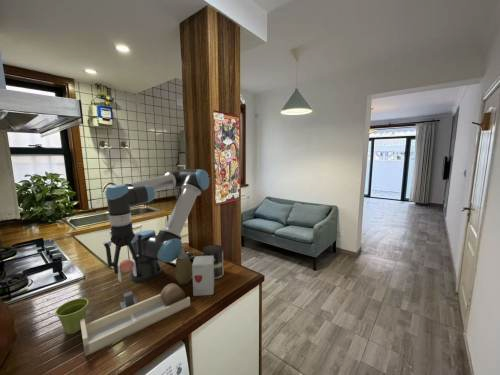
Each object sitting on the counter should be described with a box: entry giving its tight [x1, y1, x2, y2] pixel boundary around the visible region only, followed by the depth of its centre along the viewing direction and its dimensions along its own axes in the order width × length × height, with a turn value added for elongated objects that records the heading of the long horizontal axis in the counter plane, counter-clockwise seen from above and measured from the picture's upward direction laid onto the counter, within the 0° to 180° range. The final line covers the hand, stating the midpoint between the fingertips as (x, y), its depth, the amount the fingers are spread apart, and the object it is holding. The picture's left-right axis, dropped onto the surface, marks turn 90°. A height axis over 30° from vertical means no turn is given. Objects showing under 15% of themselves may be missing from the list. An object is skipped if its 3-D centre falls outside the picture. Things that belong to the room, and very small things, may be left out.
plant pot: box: [54, 297, 90, 335], centre depth 81 cm, size 9×9×9 cm
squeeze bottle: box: [174, 246, 193, 285], centre depth 109 cm, size 8×8×18 cm
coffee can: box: [202, 244, 225, 280], centre depth 116 cm, size 10×10×14 cm
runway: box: [80, 293, 191, 357], centre depth 85 cm, size 11×36×6 cm, turn 131°
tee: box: [119, 290, 139, 310], centre depth 93 cm, size 6×6×5 cm
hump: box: [160, 283, 186, 306], centre depth 93 cm, size 6×8×8 cm
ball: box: [119, 258, 133, 273], centre depth 92 cm, size 5×5×5 cm
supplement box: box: [191, 255, 215, 297], centre depth 103 cm, size 9×9×15 cm
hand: (127, 277), depth 92 cm, fingers closed on ball, 5 cm apart
